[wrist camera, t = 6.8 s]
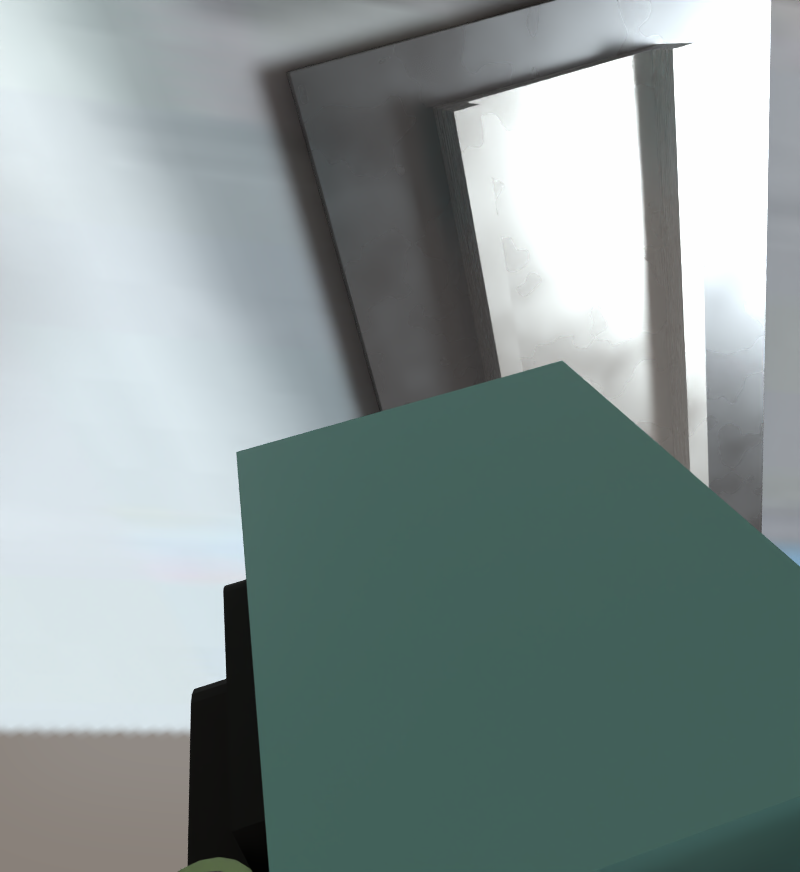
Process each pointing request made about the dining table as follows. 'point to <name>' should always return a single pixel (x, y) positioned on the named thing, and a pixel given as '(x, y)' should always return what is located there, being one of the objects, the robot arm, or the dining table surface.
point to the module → (516, 645)
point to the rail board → (563, 212)
